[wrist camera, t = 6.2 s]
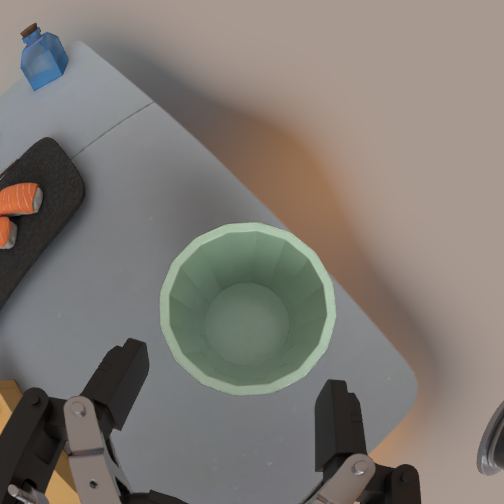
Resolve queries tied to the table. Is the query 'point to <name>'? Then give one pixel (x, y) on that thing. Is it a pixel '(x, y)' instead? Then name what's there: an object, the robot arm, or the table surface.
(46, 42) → the perfume bottle
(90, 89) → the table surface
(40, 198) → the sushi plate
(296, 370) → the teacup
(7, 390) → the tray
